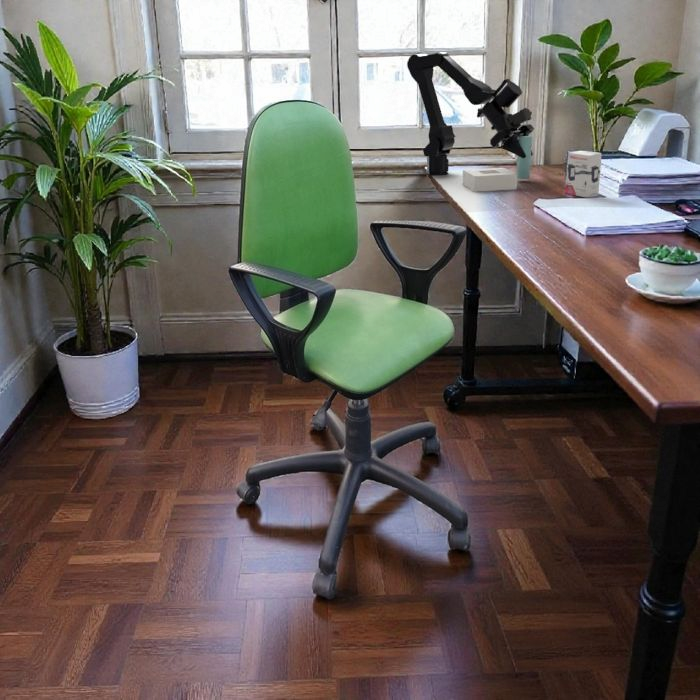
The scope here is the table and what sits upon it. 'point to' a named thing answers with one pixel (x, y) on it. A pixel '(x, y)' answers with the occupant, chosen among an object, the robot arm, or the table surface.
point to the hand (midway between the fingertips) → (528, 156)
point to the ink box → (583, 173)
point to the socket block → (489, 179)
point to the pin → (524, 163)
